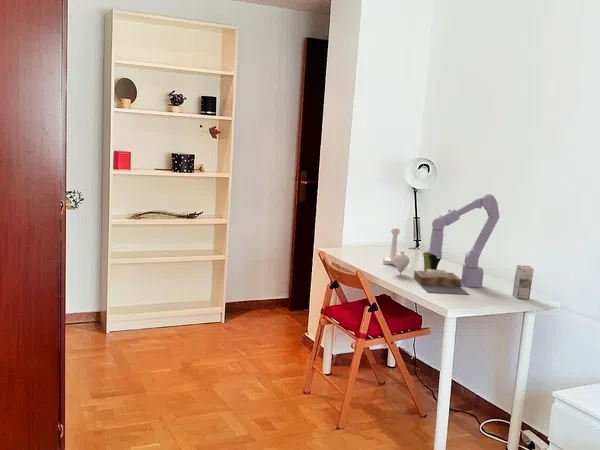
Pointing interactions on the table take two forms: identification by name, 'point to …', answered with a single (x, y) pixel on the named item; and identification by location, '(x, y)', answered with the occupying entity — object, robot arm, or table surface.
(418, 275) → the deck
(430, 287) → the mat
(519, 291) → the syrup box
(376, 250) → the table surface
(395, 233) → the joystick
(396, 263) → the spinning top
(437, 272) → the card
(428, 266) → the plant pot
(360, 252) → the table surface
